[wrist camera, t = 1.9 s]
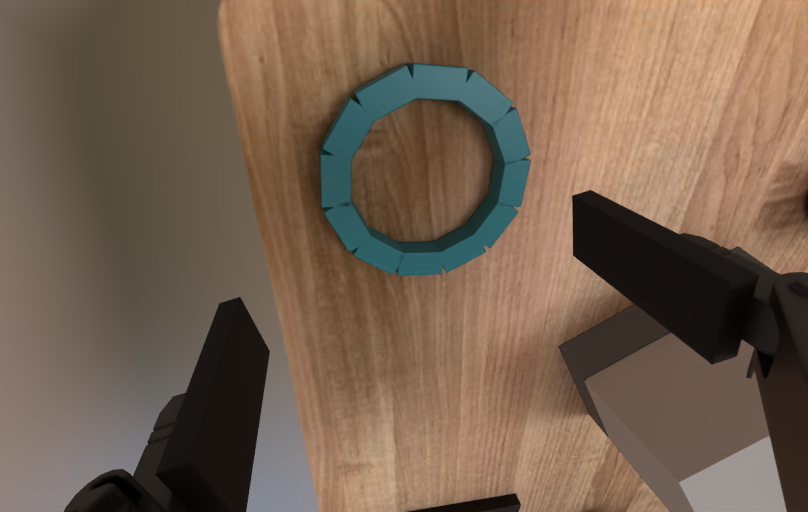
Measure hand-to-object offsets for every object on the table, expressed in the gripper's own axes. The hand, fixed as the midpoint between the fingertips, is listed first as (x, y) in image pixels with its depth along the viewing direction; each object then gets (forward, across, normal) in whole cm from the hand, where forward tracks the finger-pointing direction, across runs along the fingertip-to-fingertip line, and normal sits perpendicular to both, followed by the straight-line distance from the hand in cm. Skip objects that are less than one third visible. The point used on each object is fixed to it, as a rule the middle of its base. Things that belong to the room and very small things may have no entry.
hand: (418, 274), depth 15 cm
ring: (+15, +4, -2) cm, 16 cm away
